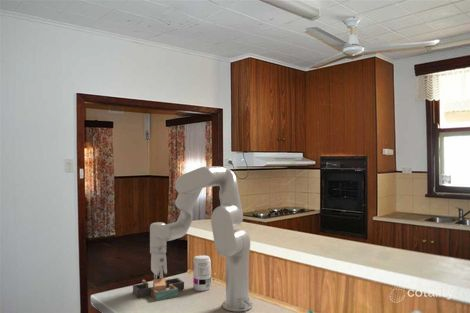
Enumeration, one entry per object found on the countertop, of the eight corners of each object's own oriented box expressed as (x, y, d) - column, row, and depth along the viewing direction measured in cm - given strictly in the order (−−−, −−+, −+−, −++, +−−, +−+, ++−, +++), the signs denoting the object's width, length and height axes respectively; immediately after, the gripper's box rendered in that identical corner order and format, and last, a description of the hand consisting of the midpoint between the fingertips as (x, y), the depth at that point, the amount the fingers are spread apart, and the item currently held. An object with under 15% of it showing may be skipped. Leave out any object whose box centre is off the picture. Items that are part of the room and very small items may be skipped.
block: (165, 294, 170) (166, 285, 169) (154, 295, 169) (154, 286, 167) (163, 287, 175) (164, 278, 173) (152, 288, 173) (153, 279, 172)
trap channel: (190, 294, 170) (190, 286, 170) (142, 303, 159) (142, 295, 159) (173, 282, 188) (173, 275, 188) (129, 289, 177) (129, 282, 177)
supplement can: (190, 290, 176) (190, 258, 176) (198, 285, 183) (198, 254, 184) (206, 292, 173) (206, 259, 173) (213, 286, 181) (213, 255, 181)
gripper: (171, 251, 171) (171, 291, 171) (160, 245, 184) (160, 282, 184) (155, 253, 167) (155, 294, 167) (145, 247, 180) (145, 285, 180)
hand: (158, 288), depth 175 cm, fingers closed
